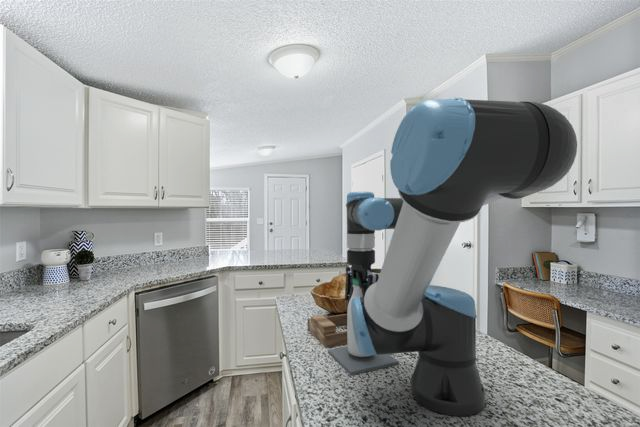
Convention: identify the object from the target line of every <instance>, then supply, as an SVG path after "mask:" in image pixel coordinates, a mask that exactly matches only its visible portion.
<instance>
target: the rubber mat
mask: <svg viewBox="0 0 640 427" xmlns="http://www.w3.org/2000/svg"><path fill="white" fill-rule="evenodd" d="M327 353H328V354H329V356H330V357H332V358H333V359H334V360H335V362H337V363H338V365H340V366H341V367H342V369H344V370H345V371H346V372H347V373H348V374H349V375H350V376H355V375H359V374H362V373H367V372H371V371H376V370H380V369H384V368H388V367H394V366H399V364H400V363H399V362H400V361H399V360H397V359H396V358H395V357H393V356H391V354H385V355H378V356H375V355H371V356H367V357H359V356H354V355H352V354H350V353H349V351H348V346H347V345H346V346H345V345H344V346H342V347H341V346H339V347H336V348H330V349H329V348H328V349H327Z"/></svg>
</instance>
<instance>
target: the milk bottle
mask: <svg viewBox="0 0 640 427" xmlns="http://www.w3.org/2000/svg"><path fill="white" fill-rule="evenodd" d="M364 284H367V283H364ZM353 287H354V290H353V294H352V296H351V299H350V301H349V304H348V311H347V310H346V314H347V325H346V327H347V330H346V331H347V344H346V346H348V351H349V353H350V354H352V355H354V356H359V357H367V356H371V355H363V354H362V353H361V352H360V351H359V349H358V347H357V344H356V340H355V335H354V330H353V324H352V315H351V301H352V299H353V298H355V297H358V296H361V297H363V294H362V289H361V288H360V287H359V283H358V279H357V278H353Z"/></svg>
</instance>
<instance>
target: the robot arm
mask: <svg viewBox="0 0 640 427" xmlns="http://www.w3.org/2000/svg"><path fill="white" fill-rule="evenodd" d="M393 138H394V139H393V142H392V144H391V149H390V153H391V154H392V156H391V158H390V163H389V165H390V167H389V168H390V175H391V179H392V182H393V184H394V186H395V188H397V192H398V195H399V197H375V193H374V192H372V191H353V192H352V191H351V192H350V191H349V192H347V195H346V203H345V207H346V247H347V251H346V262H347V264H349V265H350V266H346V267H345V273H346V275H345V277H346V278H345V289H344V290H345V291H344V300H345V301H348V304H349V301H350V299H351V296H352V294H353V290H354V287H353V278H357V279H358V283H359V287H360V288H361V289H362V294H363V297H361V296H358V297H355V298H353V299H352V301H351V315H352V324H353V330H354V335H355V340H356V344H357V347H358V349H359V351H360V352H361V353H362V354H363V355H375V356H378V355H385V354H389V355H394V354H405V353H416V352H417V353H418V356H417V357H418V358H417V360H416V363H415V367H414V371H413V373H412V375H411V377H410V394H411V396H412V398H414V400H415V401H416V402H417V403H419V404H420V405H421V406H423V407H424V408H426V409H428V410H431V411H433V412H436V413H439V414H443V415H448V416H455V417H463V416H465V417H466V416H472V415H476V414H478V413H480V412H481V411H483V409H484V408H485V406H486V392H485V388H484V386H483V384H482V379H481V377H480V373H479V370H478V367H477V363H476V362H477V361H476V359H477V358H476V356H477V347H476V346H477V345H476V344H477V343H476V342H477V340H476V339H477V337H476V336H477V334H476V333H477V326H476V325H477V322H476V320H477V318H478V315H477V311H476V310H477V309H476V301H475V299H474V298H473V296H472V295H470V294H469V293H467V292H465V291H461V290H460V289H455V288H451V287H447V286H440V285H434V284H431V282H432V279H433V278H434V277H435V275H436V274H435V273H436V272H437V270H438V268H439V267H440V264H441V262H442V260H443V259H444V256H445V254H446V252H447V250H448V248H449V247H450V244H451V243H452V241H453V238H454V236H455V234H456V232H457V230H458V228H459V226H460V224H461V223H465V222H468V221H471V220H473V219H474V218H476V217H477V215H478V214H479V213H480V210H481V209H482V207H484V206H486V205H488V204H491V203H493V202H496V201H499V200H501V199H508V200H509V199H510V200H518V199H523V198H525V197H528V196H532V195H533V194H536V193H539V192H542V191H545V190H547V189H549V188H552V187H553V186H555V185H556V184H557V183H559V182H560V181H562V180H563V178H564V177H565V176H566V175H567V174H568V173H569V171H570V170H571V168H572V166H573V165H574V163H575V160H576V158H577V152H578V138H577V134H576V132H575V129H574V127H573V125H572V123H571V122H570V121H569V120H568V118H567V117H566V116H565V115H564V114H563V113H561V112H560V111H559V110H557V109H556V108H554V107H552V106H550V105H547V104H543V103H540V102H536V101H510V100H509V101H508V100H485V99H484V100H483V99H481V100H480V99H464V98H463V97H462V98H461V97H456V96H455V97H447V98H443V99H441V98H440V99H437V98H436V99H434V98H433V99H426V100H423V101H420V102H418V103H417V104H416V105H415V106H413V107H411V109H409V111H407V113H406V114H405V115H404V116H403V118H402V120H400V123H399V126H398V128H397V129H396V132H395V134H394V137H393ZM383 230H393V233H392V236H391V239H390V241H389V245H388V248H387V251H386V254H385V257H384V260H383V264H382V267H381V269H380V273H379V274H378V273H374V272H373V270H372V265H375V262H376V250H375V249H374V248H376V246H375V245H376V242H375V239H376V237H375V233H376V231H383ZM364 283H367V284H364Z"/></svg>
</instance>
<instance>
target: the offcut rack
mask: <svg viewBox="0 0 640 427" xmlns="http://www.w3.org/2000/svg"><path fill="white" fill-rule="evenodd" d="M347 311H348V300H346V312H347ZM343 326H347V313H341V314H336V315H329V316H328V315H327V316H325V315H323V314H318V315H311V316H310V318H308V319H307V330H308V331H309V332H310V333H311V334H312V335H313V336H314V338H316V339H317V340H318V342H320V343H322V345H323V346H324V347H325V348H327V349H329V348H333V347H341V346H343V345H344V346H345V345H347V330H344V331H338V332H337V327H343Z"/></svg>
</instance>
